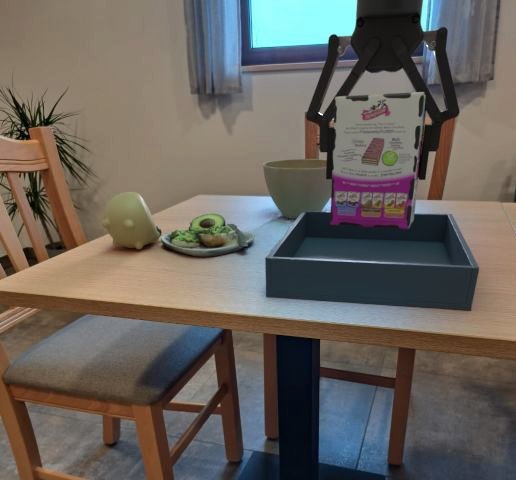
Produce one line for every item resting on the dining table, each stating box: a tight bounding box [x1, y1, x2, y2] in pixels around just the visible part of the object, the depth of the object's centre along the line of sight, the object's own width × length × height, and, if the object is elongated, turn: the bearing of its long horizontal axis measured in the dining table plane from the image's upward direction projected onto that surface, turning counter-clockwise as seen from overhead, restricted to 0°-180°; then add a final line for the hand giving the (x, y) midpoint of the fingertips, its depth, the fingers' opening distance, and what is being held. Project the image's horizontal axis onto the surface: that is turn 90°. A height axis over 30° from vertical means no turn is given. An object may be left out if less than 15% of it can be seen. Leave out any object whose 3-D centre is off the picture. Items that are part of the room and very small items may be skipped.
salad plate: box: [160, 213, 255, 257], centre depth 91 cm, size 19×18×5 cm
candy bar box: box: [330, 91, 427, 229], centre depth 62 cm, size 11×5×16 cm, turn 67°
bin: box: [264, 210, 480, 311], centre depth 76 cm, size 28×32×6 cm
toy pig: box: [101, 191, 163, 250], centre depth 91 cm, size 10×12×11 cm
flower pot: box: [262, 158, 332, 220], centre depth 111 cm, size 18×18×12 cm
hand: (374, 178), depth 63 cm, fingers closed on candy bar box, 11 cm apart
